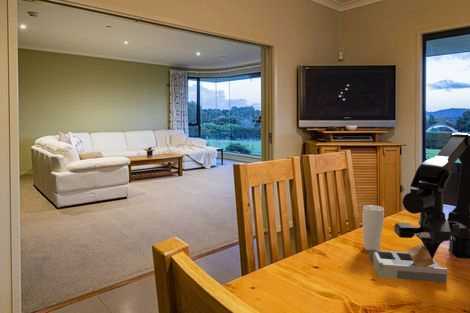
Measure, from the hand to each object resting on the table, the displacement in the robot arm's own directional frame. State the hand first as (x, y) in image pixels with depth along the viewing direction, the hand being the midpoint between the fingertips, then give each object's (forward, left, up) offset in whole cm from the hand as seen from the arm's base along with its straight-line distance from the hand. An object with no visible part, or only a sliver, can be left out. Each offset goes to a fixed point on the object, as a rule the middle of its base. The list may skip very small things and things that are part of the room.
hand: (430, 258), depth 98 cm
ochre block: (+2, 0, -2) cm, 2 cm away
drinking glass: (+13, -17, -5) cm, 22 cm away
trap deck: (+6, -3, -5) cm, 8 cm away
